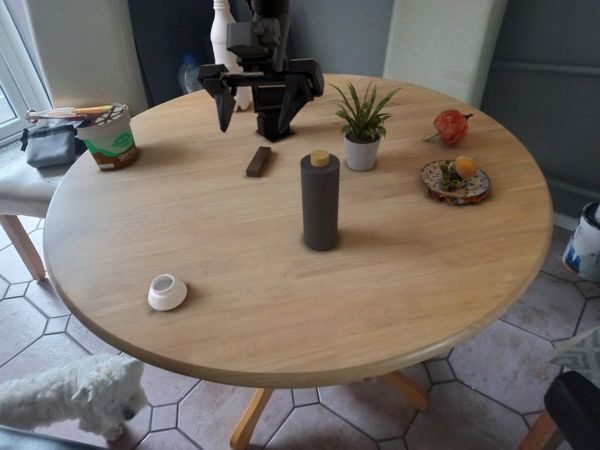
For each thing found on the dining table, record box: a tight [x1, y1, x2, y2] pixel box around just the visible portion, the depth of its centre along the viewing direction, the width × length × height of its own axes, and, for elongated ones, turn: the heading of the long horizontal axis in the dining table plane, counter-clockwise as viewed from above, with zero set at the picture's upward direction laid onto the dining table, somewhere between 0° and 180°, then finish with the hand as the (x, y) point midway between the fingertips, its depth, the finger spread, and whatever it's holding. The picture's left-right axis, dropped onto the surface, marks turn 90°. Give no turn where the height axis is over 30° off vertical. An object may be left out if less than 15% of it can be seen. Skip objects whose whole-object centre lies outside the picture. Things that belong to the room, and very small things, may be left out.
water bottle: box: [210, 0, 252, 112], centre depth 87 cm, size 7×7×25 cm
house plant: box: [324, 79, 403, 172], centre depth 68 cm, size 14×14×16 cm
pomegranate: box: [425, 108, 474, 147], centre depth 76 cm, size 7×7×10 cm
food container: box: [76, 102, 139, 172], centre depth 75 cm, size 12×6×10 cm, turn 168°
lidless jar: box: [147, 273, 188, 311], centre depth 49 cm, size 5×3×5 cm
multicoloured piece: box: [420, 155, 491, 205], centre depth 64 cm, size 12×12×8 cm
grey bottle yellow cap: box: [299, 149, 341, 252], centre depth 53 cm, size 5×5×15 cm
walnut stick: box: [245, 145, 272, 178], centre depth 74 cm, size 9×2×2 cm, turn 167°
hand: (250, 131), depth 54 cm, fingers open, 9 cm apart
